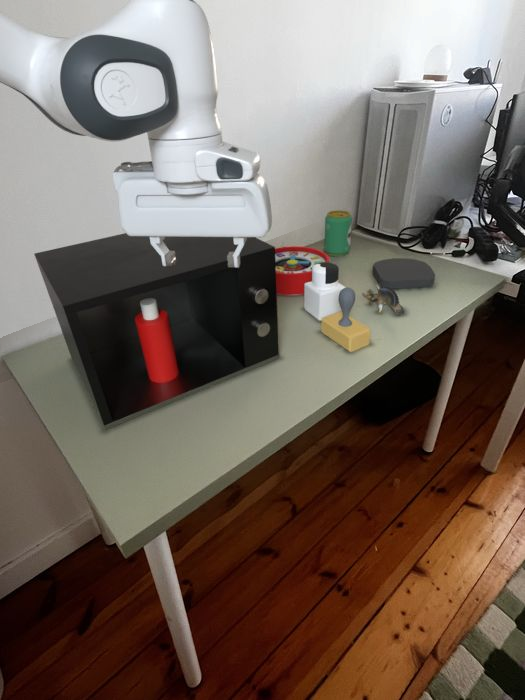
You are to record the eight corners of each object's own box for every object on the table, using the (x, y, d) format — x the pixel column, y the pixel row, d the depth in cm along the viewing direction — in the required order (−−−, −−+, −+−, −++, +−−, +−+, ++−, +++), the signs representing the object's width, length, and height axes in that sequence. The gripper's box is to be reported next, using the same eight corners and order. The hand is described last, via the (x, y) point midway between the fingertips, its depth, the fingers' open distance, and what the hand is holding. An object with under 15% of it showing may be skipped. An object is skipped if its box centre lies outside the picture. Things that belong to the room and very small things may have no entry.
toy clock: (251, 274, 111) (259, 246, 128) (253, 295, 114) (260, 265, 131) (330, 274, 109) (328, 245, 125) (329, 295, 112) (327, 264, 129)
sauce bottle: (155, 386, 82) (137, 312, 73) (144, 372, 86) (126, 300, 77) (183, 375, 84) (169, 302, 76) (171, 362, 89) (157, 291, 80)
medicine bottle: (328, 302, 109) (330, 257, 102) (344, 314, 104) (347, 267, 97) (303, 309, 107) (303, 263, 100) (319, 321, 101) (320, 274, 94)
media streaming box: (381, 290, 113) (382, 280, 111) (369, 268, 125) (370, 258, 123) (438, 288, 112) (440, 277, 111) (420, 265, 125) (422, 256, 123)
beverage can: (349, 256, 133) (351, 217, 126) (323, 256, 134) (324, 217, 128) (350, 247, 139) (352, 209, 133) (325, 246, 141) (326, 209, 134)
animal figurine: (359, 310, 102) (397, 312, 97) (363, 280, 102) (401, 281, 97) (371, 314, 109) (407, 317, 103) (375, 286, 109) (411, 287, 103)
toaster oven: (107, 434, 73) (64, 309, 60) (72, 360, 93) (34, 253, 80) (282, 361, 89) (279, 248, 75) (220, 310, 108) (209, 214, 95)
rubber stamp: (320, 332, 97) (321, 283, 90) (340, 324, 100) (343, 276, 93) (349, 352, 90) (353, 301, 83) (370, 343, 92) (375, 293, 86)
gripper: (98, 167, 53) (123, 273, 60) (264, 164, 50) (268, 276, 57) (120, 157, 58) (140, 256, 65) (272, 154, 55) (274, 258, 62)
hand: (201, 265), depth 61 cm, fingers open, 8 cm apart
